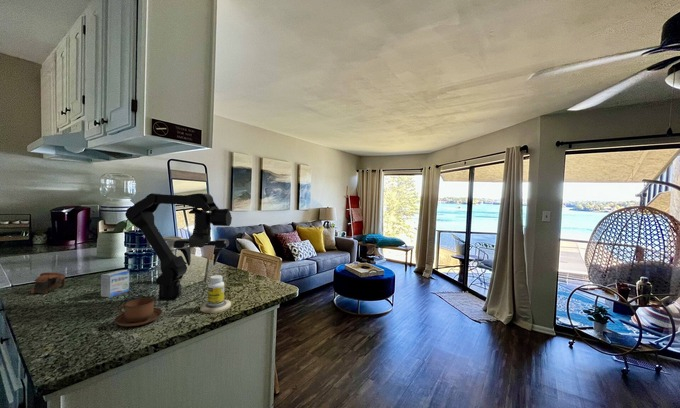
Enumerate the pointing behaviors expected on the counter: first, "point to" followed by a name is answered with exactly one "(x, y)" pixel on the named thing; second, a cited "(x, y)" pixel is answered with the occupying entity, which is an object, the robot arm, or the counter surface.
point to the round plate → (215, 307)
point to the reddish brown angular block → (48, 282)
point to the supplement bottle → (216, 291)
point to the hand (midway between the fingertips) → (201, 265)
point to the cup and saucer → (138, 312)
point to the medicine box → (114, 283)
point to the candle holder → (170, 243)
